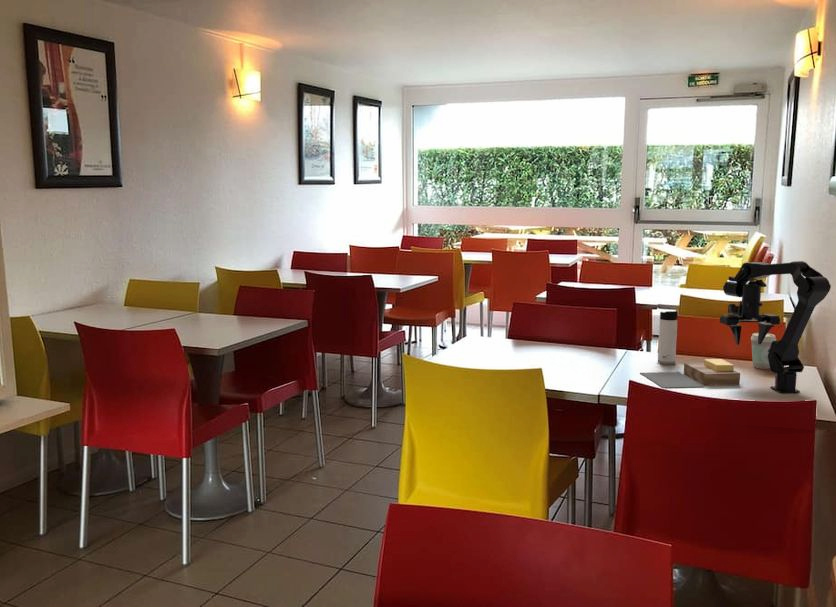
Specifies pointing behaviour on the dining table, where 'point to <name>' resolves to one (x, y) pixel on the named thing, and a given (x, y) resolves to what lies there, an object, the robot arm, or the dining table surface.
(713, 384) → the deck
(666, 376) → the mat
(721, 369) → the yellow flat block
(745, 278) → the robot arm
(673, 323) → the travel mug
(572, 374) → the dining table surface
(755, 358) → the coffee cup
